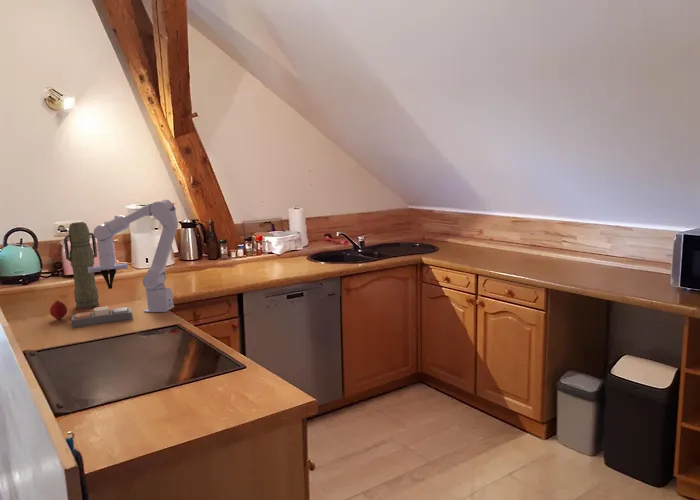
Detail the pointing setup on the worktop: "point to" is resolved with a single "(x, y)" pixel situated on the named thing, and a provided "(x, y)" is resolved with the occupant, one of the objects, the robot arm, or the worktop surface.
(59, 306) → the onion
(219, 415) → the worktop surface
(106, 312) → the cream key
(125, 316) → the key panel
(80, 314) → the terracotta key
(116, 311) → the light gray key
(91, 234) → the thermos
